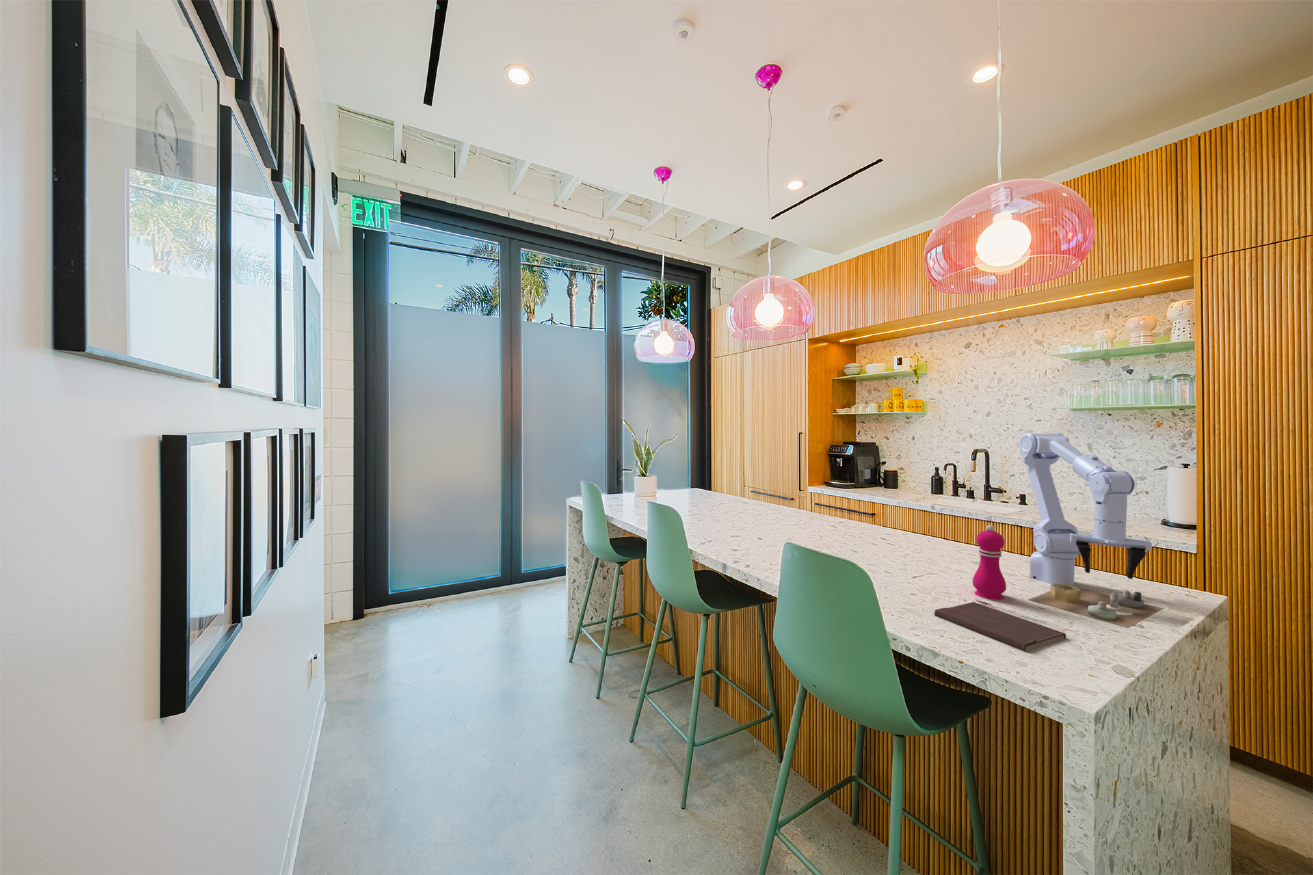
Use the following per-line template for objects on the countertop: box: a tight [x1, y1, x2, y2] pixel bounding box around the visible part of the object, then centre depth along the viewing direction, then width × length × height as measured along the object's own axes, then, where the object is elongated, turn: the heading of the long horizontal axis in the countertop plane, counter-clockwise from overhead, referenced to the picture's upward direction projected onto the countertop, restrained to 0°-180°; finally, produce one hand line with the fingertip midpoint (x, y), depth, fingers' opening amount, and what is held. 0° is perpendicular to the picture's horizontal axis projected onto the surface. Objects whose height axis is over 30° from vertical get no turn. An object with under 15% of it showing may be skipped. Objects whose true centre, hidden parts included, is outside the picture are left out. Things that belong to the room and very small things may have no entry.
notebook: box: [933, 601, 1067, 652], centre depth 110 cm, size 15×20×2 cm
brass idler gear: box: [1050, 583, 1081, 603], centre depth 122 cm, size 5×5×3 cm
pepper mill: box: [972, 524, 1007, 606], centre depth 125 cm, size 7×7×20 cm
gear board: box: [1027, 587, 1164, 629], centre depth 119 cm, size 19×22×6 cm
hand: (1108, 574), depth 119 cm, fingers open, 7 cm apart
